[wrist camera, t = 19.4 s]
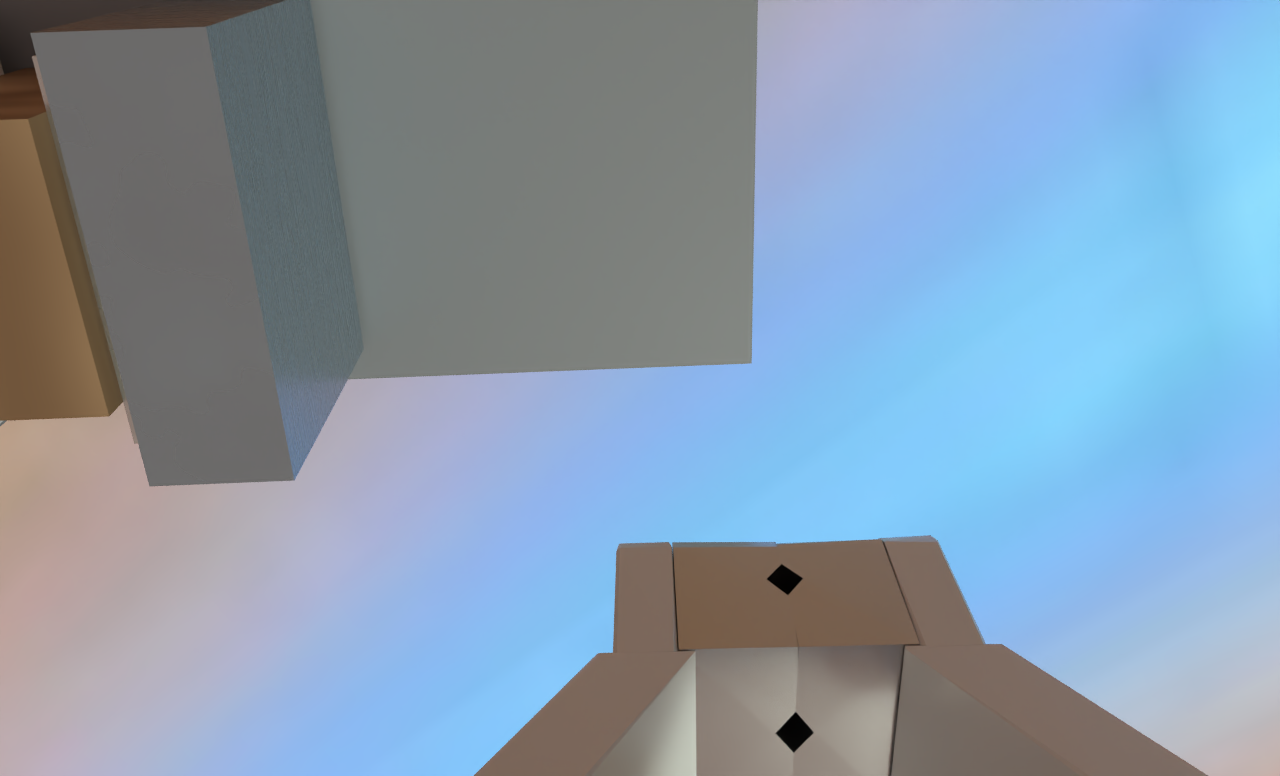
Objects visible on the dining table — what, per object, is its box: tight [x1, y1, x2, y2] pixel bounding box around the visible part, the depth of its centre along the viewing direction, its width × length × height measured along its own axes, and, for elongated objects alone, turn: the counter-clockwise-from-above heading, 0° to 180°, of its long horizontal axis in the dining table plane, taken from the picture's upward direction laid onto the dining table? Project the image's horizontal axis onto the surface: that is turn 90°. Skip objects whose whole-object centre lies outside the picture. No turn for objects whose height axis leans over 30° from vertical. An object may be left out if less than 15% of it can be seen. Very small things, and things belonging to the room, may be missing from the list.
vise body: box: [0, 0, 758, 426], centre depth 24 cm, size 22×11×9 cm, turn 92°
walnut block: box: [0, 68, 123, 421], centre depth 23 cm, size 4×6×7 cm, turn 2°
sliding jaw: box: [30, 0, 364, 486], centre depth 23 cm, size 4×9×7 cm, turn 2°
